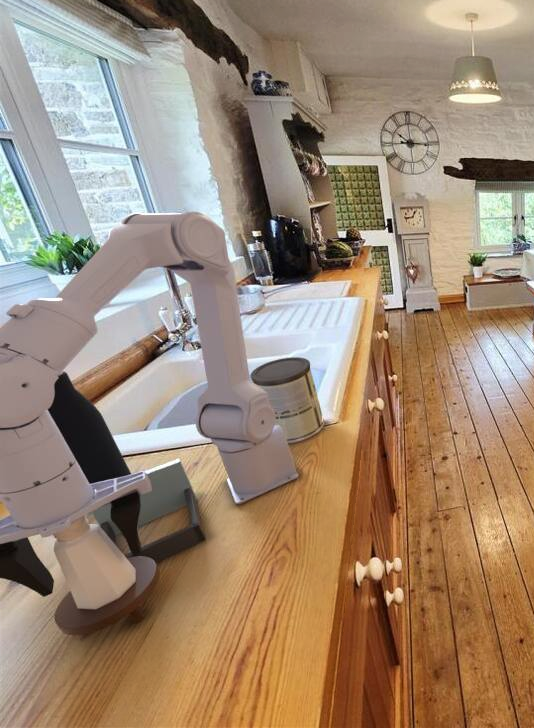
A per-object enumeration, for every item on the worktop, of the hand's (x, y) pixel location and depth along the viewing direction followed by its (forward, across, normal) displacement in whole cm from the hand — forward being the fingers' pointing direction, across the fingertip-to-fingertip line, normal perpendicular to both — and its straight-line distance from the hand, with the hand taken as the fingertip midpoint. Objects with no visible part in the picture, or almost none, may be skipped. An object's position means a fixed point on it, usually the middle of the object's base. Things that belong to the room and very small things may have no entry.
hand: (95, 568), depth 47 cm
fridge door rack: (+8, +4, +11) cm, 14 cm away
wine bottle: (+8, -1, +28) cm, 29 cm away
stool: (+8, 0, 0) cm, 8 cm away
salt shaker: (+4, 0, 0) cm, 4 cm away
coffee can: (+8, +28, +26) cm, 39 cm away
